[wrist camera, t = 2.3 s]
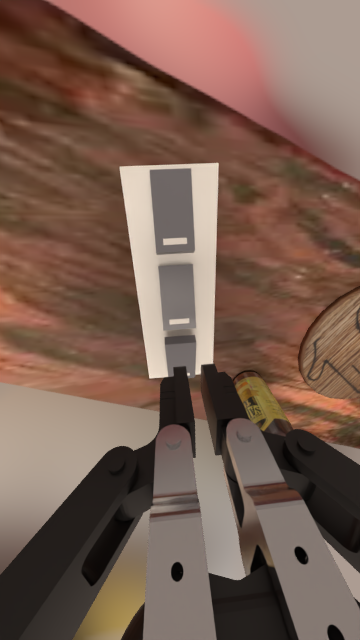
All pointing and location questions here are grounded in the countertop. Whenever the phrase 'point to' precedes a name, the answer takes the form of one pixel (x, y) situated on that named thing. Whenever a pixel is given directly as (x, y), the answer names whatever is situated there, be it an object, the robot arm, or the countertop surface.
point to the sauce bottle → (261, 404)
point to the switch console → (173, 260)
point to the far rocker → (181, 353)
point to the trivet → (334, 349)
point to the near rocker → (172, 210)
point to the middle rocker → (177, 296)
